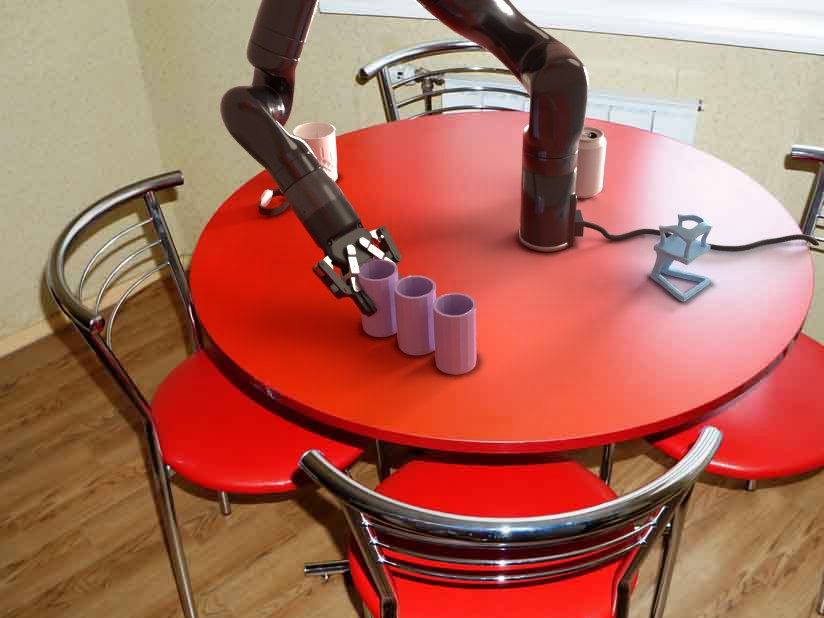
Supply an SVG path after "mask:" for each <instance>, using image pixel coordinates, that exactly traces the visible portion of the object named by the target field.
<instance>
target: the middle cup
mask: <svg viewBox="0 0 824 618" xmlns="http://www.w3.org/2000/svg"><path fill="white" fill-rule="evenodd" d="M436 298H437V284H436V282H435V281H434V280H433V279H432V278H430V277H428V276H424V275H420V274H419V275H408V276H404V277H402V279H400V280H398V281H397V282H396V283H395V285H394V299H395V312H396V325H397V333H396V335H397V336H396V338H397V346H398V348H399V350H400V351H401V352H402V353H405V354H406V355H410V356H424V355H427V354H430V353H432V352H435V342H434V320H433V302H434V301H435V300H436Z"/></svg>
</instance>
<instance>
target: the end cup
mask: <svg viewBox="0 0 824 618" xmlns="http://www.w3.org/2000/svg"><path fill="white" fill-rule="evenodd" d="M398 272H399V268H398V265H397V266H396V264H395V263H393V262H391V261H389V260H384V259H382V260H380V259H373V260H371V261H370V262H367V263H364V264H363V266H362V267H360V268H359V274H358V279H359V282H360V285H361V291H362V290H364V291H365V293H366V294H367V295H368V297H369V298H370V299H371V301H372V302H373V304H374V305H375V307H376V308H377V312H376V313H375V314H373V315H372V316H370V317H367V316H366V315H364V314H362V313H361V312H360V317H361V326H362V330H363V331H364V333H366V334H367V335H369V336H371V337H376V338H386V337H390V336H393V335H395V334H397V325H396V312H395V299H394V285H395V283H396V282H397V281H398V280H399V277H398Z"/></svg>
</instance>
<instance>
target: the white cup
mask: <svg viewBox="0 0 824 618" xmlns="http://www.w3.org/2000/svg"><path fill="white" fill-rule="evenodd" d="M292 136H293V137H296V138H299V139H301V140H303V141H304V142H305V143H306V144H307V145H308V146H309V147H310V149H311V150H312V151H313V153H314V154H315V156H316V157H317V159H318V160H319V162H320V163H321V165H322V166H323V167H324V169H325V170H326V172H327V173H328V174H329V175H330V176H331V177H332V178H333V179H334V181H335V182H336V181H337V180H338V153H337V139H336V128H335V126H334V125H332V124H330V123H327V122H322V121H321V122H320V121H310V122H305V123H302V124H299V125H297V126H296V127H294V128H293V130H292Z"/></svg>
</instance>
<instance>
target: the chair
mask: <svg viewBox="0 0 824 618" xmlns="http://www.w3.org/2000/svg"><path fill="white" fill-rule="evenodd" d="M677 220H678V221H677V224H674V225H673V224H672V225H661V224H660V225H658V230H660V235H661V236H660V240H659V242H657V243H655V244H654V245H653V251H654V252H655V254H656V259H655V262H654V265H653V267H652V270H651V272H650V275H649V276H650V278H651V279H652V280H653V281H654V282H656V283H658V284H659V286H662V287H663V288H664V289H665V290H666V291H667V292H668V293H670V294H671V295H672V296H673V297H674V298H676V299H677V300H678V301H680V302H682V303H684V302H686V301H688V300H689V299H690V298H692V297H693V296H695V295H696V294H698V293H699V292H700V291H702V290H703V289H704V288H706V287H707V286H709V285H710V282H711V278H709V277H707V276H704V275H701V274H697V273H693V272H688V271H684V270H681V269H676V268H672V267H671V265H672V264H673V263H674V262H679V263H681V264H683V265H684V266H685V265H686V266H688V265H690V264H692V262H694V261H695V260H696V259H698V258H699V257H701V256H702V255H706V254H707V253H708V252H710V251H711V250H710V247H711V245H708V244H709V243H708V242H707V238H708V236H709V235H710V232H711V231H712V229H713V226H712V225H711V223H709V222H708V220H706V218H704V217H702V216H701V215H699V214H682V213H681V214H680V213H678V214H677ZM685 221H686V222H687V221H689V222H690V221H691V222H695V223H697V224H696V225H695V226H694V227H692V228H686V227H684V226H683V222H685ZM664 233H671V234H672V235H671V236H669V237H668V238H666V237H665V234H664ZM700 236H701V239H700V240H697V239H698V238H699V237H700ZM707 243H708V244H707ZM662 274H663V275H662ZM664 275H667V276H672V277H675V278H680V279H684V280H688V281H689V280H690V281H693V282H698V284H697V285H695V286H694V287H692V288H691V289H689V290H687V292H685V293H682V292H681V291H680V290H679V289H678V288H677V287H676V286H674V285H673V284H672V283H671V282H670V281H669V280H668V279H666V278H665V277H664Z"/></svg>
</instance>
